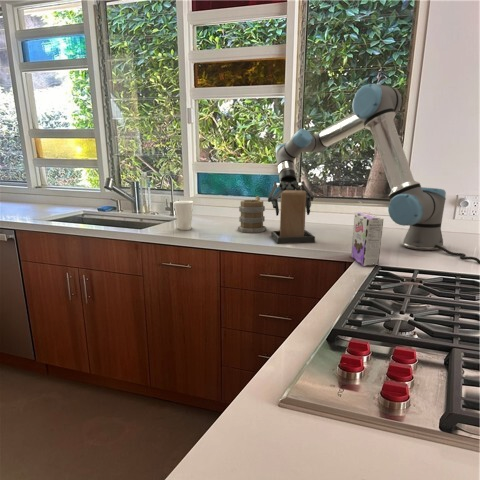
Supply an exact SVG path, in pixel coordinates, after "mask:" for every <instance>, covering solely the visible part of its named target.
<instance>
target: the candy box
mask: <svg viewBox="0 0 480 480" xmlns="http://www.w3.org/2000/svg"><path fill="white" fill-rule="evenodd" d="M383 227H384V217H380V216H378V215H375V214H373V213H371V212H368V211H367V212H364V211H363V212H354V218H353V231H352V245H351V256H350V258H351V259H353V260H354V261H355V262H357V263H358V264H360V266H362V267H377V266H376V265H378V266H379V262H380V253H381V244H382V238H383V237H382V236H383ZM373 263H374V264H373Z"/></svg>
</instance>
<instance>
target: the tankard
mask: <svg viewBox="0 0 480 480" xmlns="http://www.w3.org/2000/svg"><path fill="white" fill-rule="evenodd" d="M265 211H266V207H265V205H264V200H261V198H260V196H259V195H256V197H255V199H243V200H240V205H239V206H238V212H240V216H238V217H239V218H238V222H240V225H239V226H238V227H237V231H239V232H241V233H249V234H251V233H252V234H255V233H256V234H257V233H263V232H265V231H266V230H267V226H266V225H264V222H265V221H266V220H265V217H266V216H265V215H264V212H265Z"/></svg>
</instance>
